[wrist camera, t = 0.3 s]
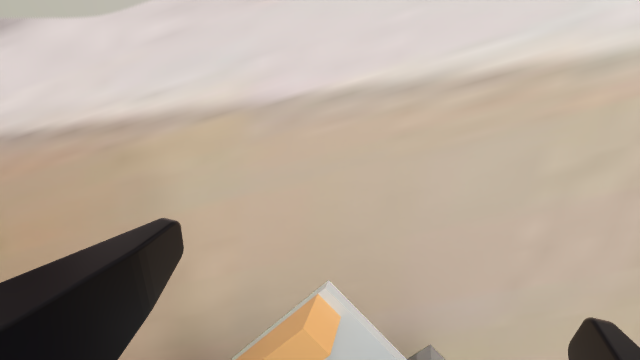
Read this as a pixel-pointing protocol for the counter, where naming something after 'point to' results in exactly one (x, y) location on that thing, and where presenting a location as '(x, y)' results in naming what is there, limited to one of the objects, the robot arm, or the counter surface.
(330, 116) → the counter surface
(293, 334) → the cover
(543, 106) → the counter surface
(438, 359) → the duct
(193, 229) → the counter surface
